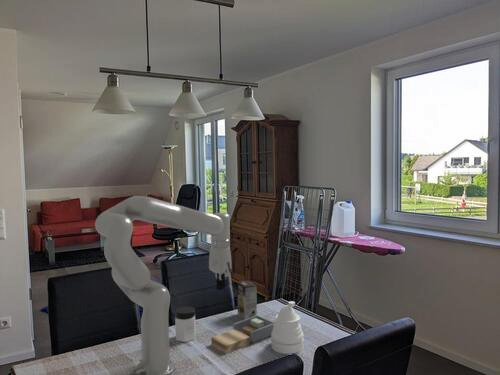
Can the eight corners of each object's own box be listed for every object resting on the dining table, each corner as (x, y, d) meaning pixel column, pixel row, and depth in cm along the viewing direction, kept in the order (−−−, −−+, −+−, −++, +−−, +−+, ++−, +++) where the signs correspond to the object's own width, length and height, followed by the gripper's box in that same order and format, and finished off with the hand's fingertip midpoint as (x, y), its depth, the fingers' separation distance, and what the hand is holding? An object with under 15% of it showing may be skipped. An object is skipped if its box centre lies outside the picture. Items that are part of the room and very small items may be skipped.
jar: (180, 344, 161) (179, 315, 161) (172, 337, 168) (171, 309, 167) (199, 338, 166) (199, 310, 165) (191, 331, 173) (190, 304, 172)
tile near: (249, 338, 163) (249, 331, 163) (241, 334, 167) (241, 327, 167) (258, 334, 167) (258, 328, 166) (250, 331, 170) (250, 324, 170)
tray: (251, 344, 159) (251, 332, 159) (233, 335, 169) (233, 323, 168) (276, 334, 169) (276, 322, 168) (257, 325, 178) (257, 315, 177)
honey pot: (305, 340, 162) (305, 297, 161) (301, 355, 150) (300, 309, 149) (275, 337, 166) (274, 295, 164) (268, 352, 153) (267, 306, 152)
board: (226, 353, 152) (226, 346, 152) (211, 344, 160) (211, 337, 160) (250, 343, 160) (250, 336, 160) (234, 336, 168) (234, 329, 168)
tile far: (258, 323, 166) (263, 321, 168) (250, 319, 170) (255, 318, 172) (258, 334, 167) (263, 332, 169) (250, 331, 170) (256, 329, 172)
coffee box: (237, 314, 192) (236, 281, 191) (249, 311, 195) (248, 279, 194) (245, 320, 184) (244, 286, 183) (257, 318, 187) (256, 284, 186)
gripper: (202, 242, 162) (203, 286, 163) (223, 247, 151) (223, 295, 151) (217, 240, 167) (218, 283, 168) (239, 245, 155) (239, 291, 156)
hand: (220, 288), depth 160 cm, fingers closed
